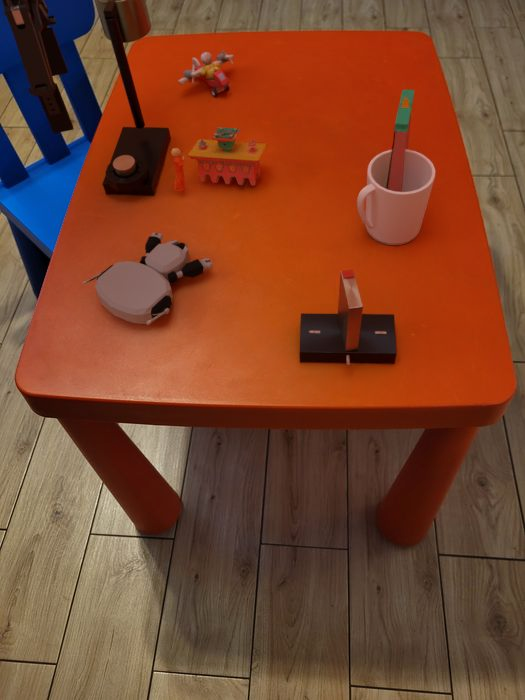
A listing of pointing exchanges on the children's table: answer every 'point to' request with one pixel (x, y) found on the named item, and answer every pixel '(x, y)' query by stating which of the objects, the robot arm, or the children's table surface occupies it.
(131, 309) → the robot toy
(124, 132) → the lamp base
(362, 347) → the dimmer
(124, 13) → the lamp
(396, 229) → the mug
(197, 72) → the toy airplane
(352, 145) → the children's table surface
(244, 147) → the building blocks
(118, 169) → the lamp switch
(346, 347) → the small card box
